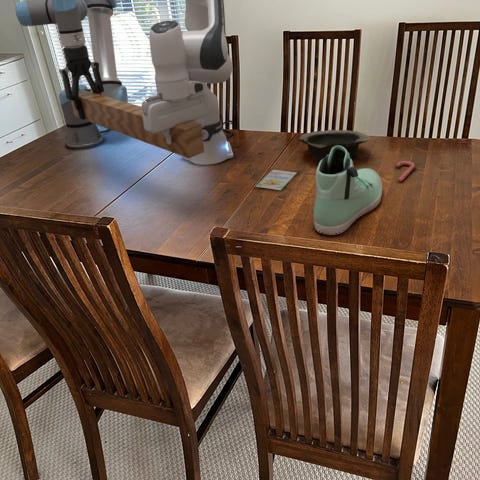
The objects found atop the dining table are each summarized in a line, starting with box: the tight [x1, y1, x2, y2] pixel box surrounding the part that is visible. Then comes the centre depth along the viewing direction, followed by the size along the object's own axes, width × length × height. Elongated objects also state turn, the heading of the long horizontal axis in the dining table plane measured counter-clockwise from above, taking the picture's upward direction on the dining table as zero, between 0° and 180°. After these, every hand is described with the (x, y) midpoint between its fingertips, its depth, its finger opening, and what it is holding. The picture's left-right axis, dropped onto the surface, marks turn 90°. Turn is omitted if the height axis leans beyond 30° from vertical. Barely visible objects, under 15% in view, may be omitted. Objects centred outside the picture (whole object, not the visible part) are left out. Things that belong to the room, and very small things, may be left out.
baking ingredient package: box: [255, 169, 297, 191], centre depth 159 cm, size 9×1×15 cm
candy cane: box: [395, 160, 416, 183], centre depth 157 cm, size 6×15×2 cm, turn 145°
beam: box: [71, 90, 204, 158], centre depth 149 cm, size 65×6×8 cm, turn 44°
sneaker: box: [313, 146, 383, 236], centre depth 133 cm, size 14×35×20 cm, turn 152°
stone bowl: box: [297, 129, 371, 164], centre depth 171 cm, size 25×25×9 cm
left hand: (90, 116), depth 168 cm, fingers closed on beam, 6 cm apart
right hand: (180, 139), depth 134 cm, fingers closed on beam, 5 cm apart
